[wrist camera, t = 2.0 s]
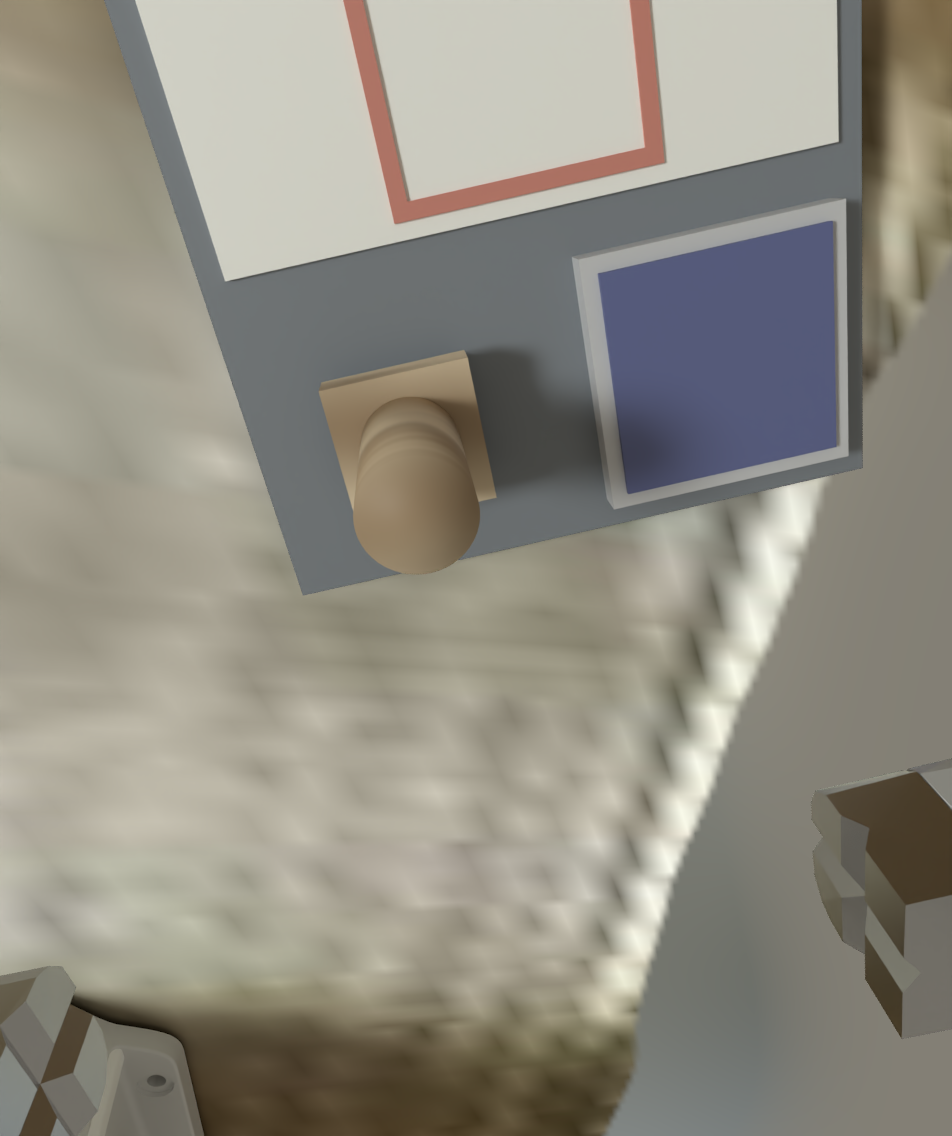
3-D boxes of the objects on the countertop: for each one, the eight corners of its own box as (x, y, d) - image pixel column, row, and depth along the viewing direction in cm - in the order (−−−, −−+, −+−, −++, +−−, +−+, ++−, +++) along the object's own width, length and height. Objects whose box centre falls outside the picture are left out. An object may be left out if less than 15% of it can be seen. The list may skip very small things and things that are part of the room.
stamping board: (845, 457, 30) (880, 478, 28) (306, 580, 30) (299, 611, 28) (837, -267, 22) (887, -317, 19) (83, -96, 22) (49, -126, 19)
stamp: (488, 474, 28) (524, 578, 21) (360, 504, 28) (351, 617, 21) (461, 343, 26) (489, 406, 19) (323, 375, 26) (299, 449, 19)
